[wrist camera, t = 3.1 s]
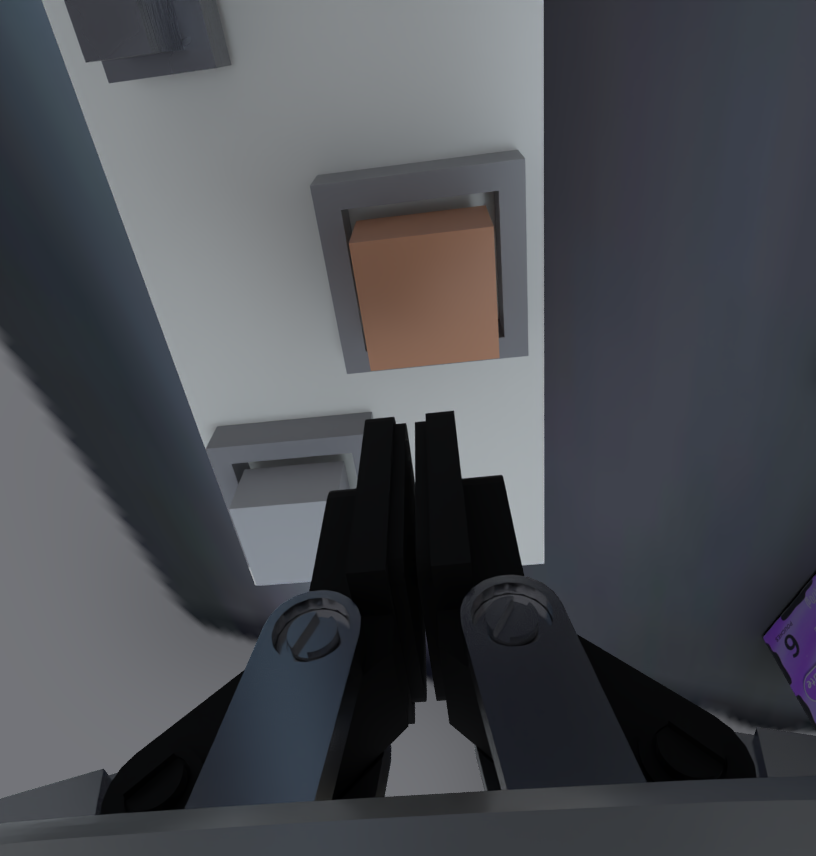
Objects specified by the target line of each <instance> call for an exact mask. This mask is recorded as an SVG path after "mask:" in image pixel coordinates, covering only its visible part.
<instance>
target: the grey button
mask: <svg viewBox="0 0 816 856" xmlns="http://www.w3.org/2000/svg"><path fill="white" fill-rule="evenodd" d="M344 489H350V486H349V481H348V477H347V472H346V468H345V463H344V461H334V462H323V463H312V464H301V465H289V466H278V467H267V468H256V469H245V470H244V472H243V475H242V477H241V480H240V482H239V485H238V487H237V490H236V492H235V495H234V497H233V500H232V502H231V505H230V507H229V511H230V514H231V517H232V519H233V522H234V525H235V528H236V530H237V533H238V536H239V539H240V541H241V544H242V547H243V550H244V552H245V555H246V558H247V561H248V563H249V566H250V569H251V572H252V574H253V577H254V580H255V583H256V585H257V586H260V585H274V584H287V583H300V582H311V580H312V575H313V569H314V564H315V559H316V553H317V548H318V543H319V538H320V532H321V527H322V522H323V516H324V511H325V506H326V501H327V496H328V493H329V492H330V491H333V490H344Z"/></svg>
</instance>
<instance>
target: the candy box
mask: <svg viewBox="0 0 816 856" xmlns="http://www.w3.org/2000/svg"><path fill="white" fill-rule="evenodd" d="M763 639H764V641H765V643H766V644H767V646H768V648H769V650H770V652H771V653H772V655H773V656H774V658H775V660H776V662H777V664H778V665H779V667H780V669H781V671H782V672H783V674H784V676H785V678H786V679H787V681H788V683H789V684H790V686H791V688H792V690H793V692H794V694H795V695H796V697H797V699H798V701H799V702H800V704H801V706H802V707H803V710H804V711H805V713H806V715H807V716H808V718H809V720H810V721H811V723H812V725H813V727H814V729H815V730H816V574H815V576H814V577H813V578H812V579H811V580H810V581H809V582H808V584H807V585H806V586H805V587H804V588H803V590H802V591H801V592H800V594H799V595H798V596H797V597H796V598H795V600H794V601H793V602H792V603H791V605H790V606H789V607H788V608H787V609H786V610H785V611H784V612H783V613H782V615H781V616H780V618H779V619H777V620H776V622H775V623H774V624H773V626H772V627H771V628H770V629H769V630H768V631H767V633H766V634H765V635H764V636H763Z"/></svg>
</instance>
